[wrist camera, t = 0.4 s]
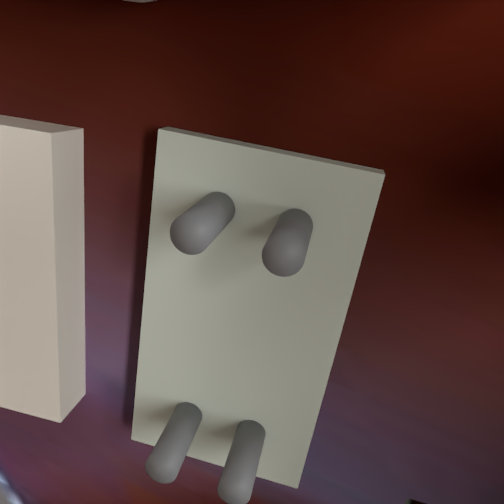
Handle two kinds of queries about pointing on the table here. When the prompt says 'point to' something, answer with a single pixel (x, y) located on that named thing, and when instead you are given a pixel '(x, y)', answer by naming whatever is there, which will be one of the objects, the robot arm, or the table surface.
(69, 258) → the shelf board
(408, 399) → the table surface
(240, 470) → the peg stand
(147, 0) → the spread jar
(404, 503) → the robot arm
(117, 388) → the table surface
